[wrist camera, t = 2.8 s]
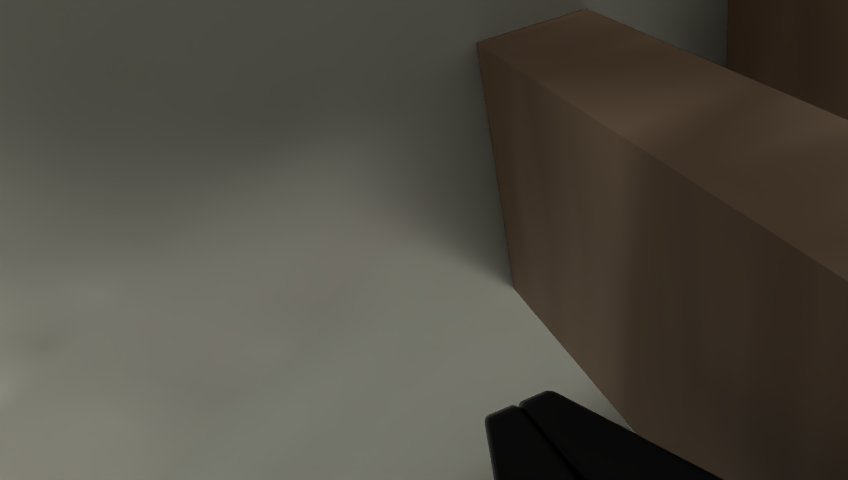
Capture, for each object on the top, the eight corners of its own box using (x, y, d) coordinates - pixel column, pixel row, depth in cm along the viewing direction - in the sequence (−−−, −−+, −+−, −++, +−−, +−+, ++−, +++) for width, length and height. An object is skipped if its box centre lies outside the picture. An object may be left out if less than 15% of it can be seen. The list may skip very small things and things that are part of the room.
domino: (586, 9, 13) (1150, 249, 6) (604, 254, 16) (1008, 619, 9) (476, 42, 13) (941, 342, 6) (514, 288, 15) (861, 698, 8)
